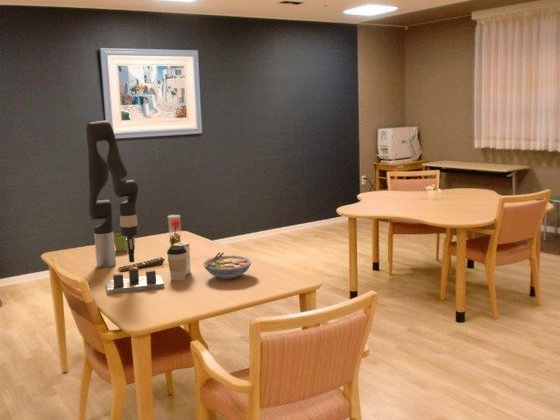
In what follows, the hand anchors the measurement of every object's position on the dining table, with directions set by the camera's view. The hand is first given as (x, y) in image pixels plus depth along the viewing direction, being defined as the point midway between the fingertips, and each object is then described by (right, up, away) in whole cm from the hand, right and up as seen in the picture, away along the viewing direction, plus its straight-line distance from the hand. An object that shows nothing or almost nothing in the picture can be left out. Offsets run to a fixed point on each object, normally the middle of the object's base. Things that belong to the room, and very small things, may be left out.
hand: (131, 261), depth 269 cm
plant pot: (-20, +1, +58) cm, 62 cm away
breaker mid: (+2, -8, -3) cm, 9 cm away
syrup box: (+21, -7, +12) cm, 25 cm away
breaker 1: (-3, -10, -11) cm, 15 cm away
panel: (+3, -10, -6) cm, 12 cm away
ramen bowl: (+44, -8, +5) cm, 44 cm away
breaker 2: (+10, -8, -7) cm, 15 cm away
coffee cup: (+20, -8, +5) cm, 23 cm away
